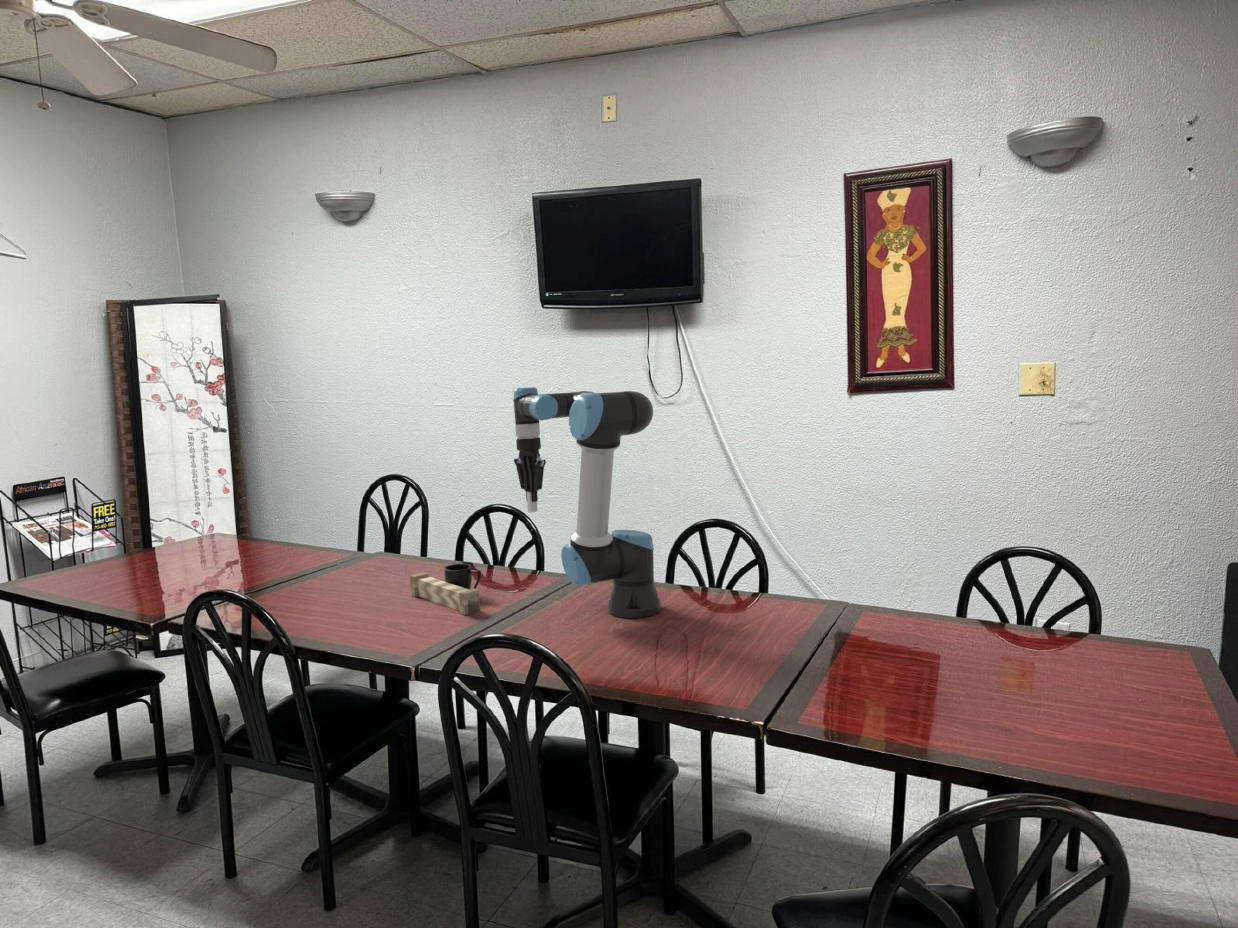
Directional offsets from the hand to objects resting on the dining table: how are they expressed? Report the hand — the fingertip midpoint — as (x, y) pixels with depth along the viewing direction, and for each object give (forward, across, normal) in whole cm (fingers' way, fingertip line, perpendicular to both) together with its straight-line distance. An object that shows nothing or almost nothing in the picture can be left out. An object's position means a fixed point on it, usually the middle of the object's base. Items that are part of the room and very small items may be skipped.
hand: (532, 511), depth 278 cm
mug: (+25, +10, +21) cm, 34 cm away
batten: (+24, +10, +28) cm, 38 cm away
